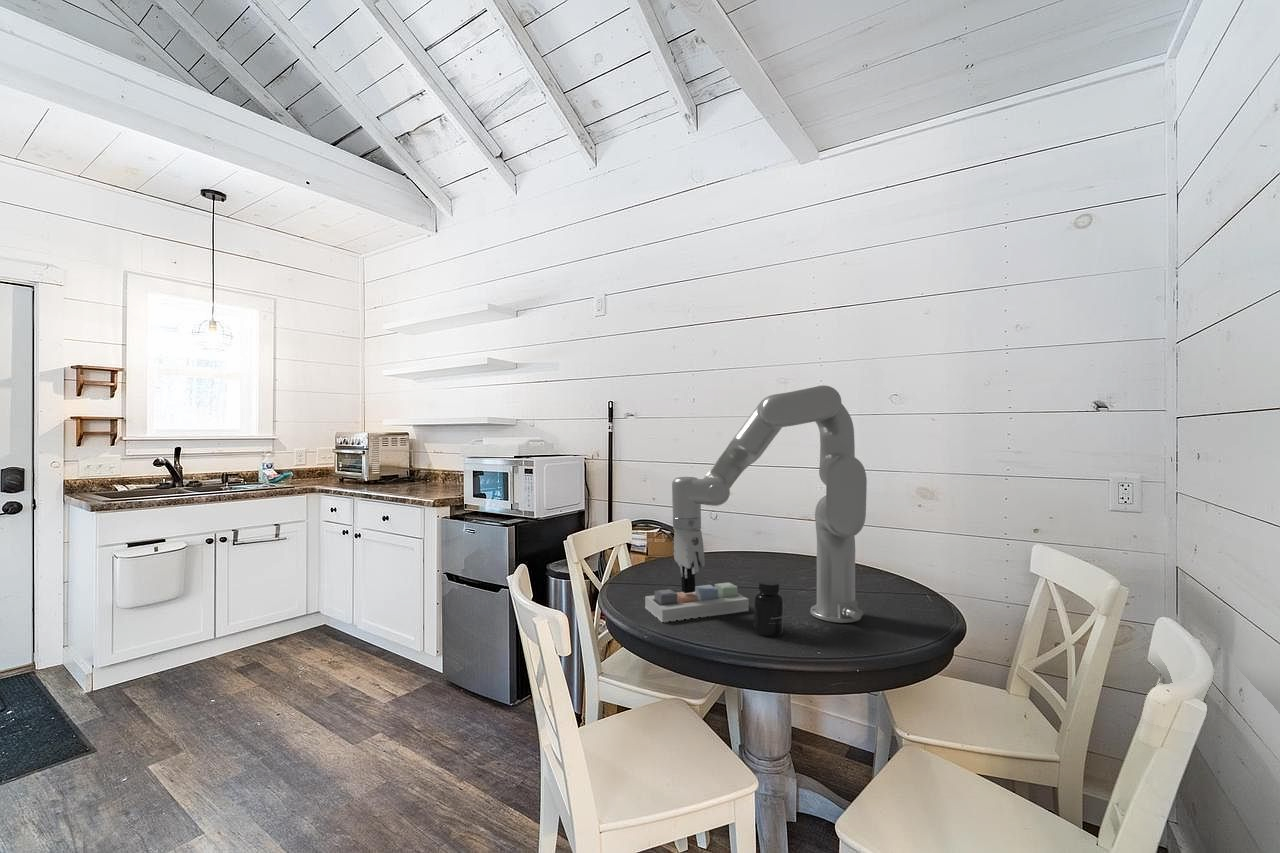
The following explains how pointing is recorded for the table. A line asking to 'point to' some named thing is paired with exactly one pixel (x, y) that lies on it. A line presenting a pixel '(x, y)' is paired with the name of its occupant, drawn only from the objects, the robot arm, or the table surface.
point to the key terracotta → (686, 597)
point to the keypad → (697, 608)
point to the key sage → (726, 590)
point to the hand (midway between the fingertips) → (688, 591)
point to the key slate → (706, 592)
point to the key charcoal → (665, 597)
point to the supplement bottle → (768, 609)
